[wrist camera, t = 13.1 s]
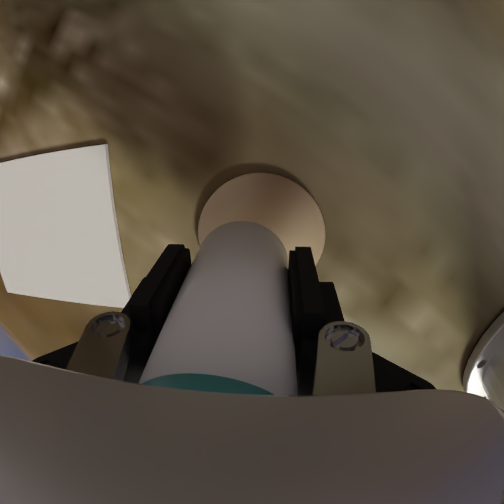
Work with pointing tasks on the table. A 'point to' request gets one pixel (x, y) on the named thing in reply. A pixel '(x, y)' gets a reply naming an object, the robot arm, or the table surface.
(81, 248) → the paper
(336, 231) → the table surface
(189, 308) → the marker
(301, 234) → the disc
